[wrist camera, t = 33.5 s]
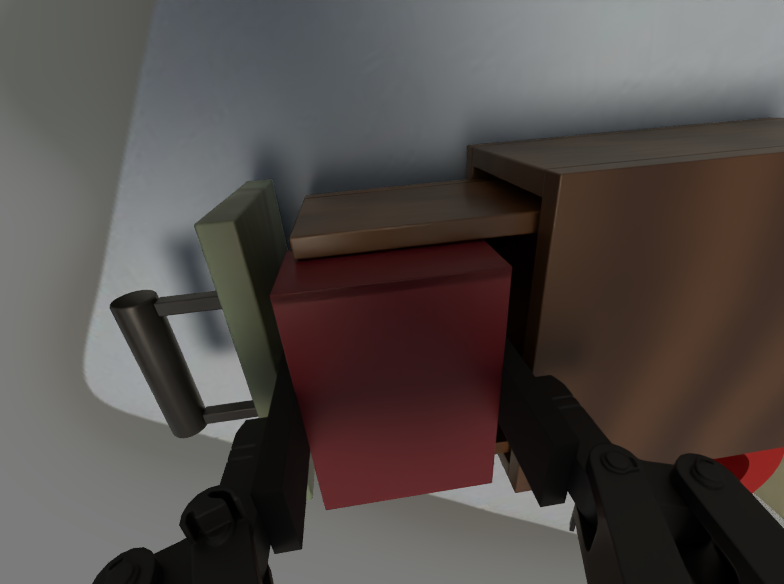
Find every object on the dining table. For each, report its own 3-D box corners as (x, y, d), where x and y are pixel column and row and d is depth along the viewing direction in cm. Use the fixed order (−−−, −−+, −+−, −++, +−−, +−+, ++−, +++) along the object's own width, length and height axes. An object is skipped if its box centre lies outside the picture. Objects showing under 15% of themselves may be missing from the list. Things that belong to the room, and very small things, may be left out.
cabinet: (461, 373, 25) (515, 493, 17) (466, 144, 18) (560, 173, 10) (685, 341, 26) (828, 439, 19) (769, 117, 19) (1053, 125, 12)
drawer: (220, 410, 23) (177, 522, 17) (133, 192, 16) (10, 242, 10) (534, 365, 24) (600, 452, 18) (566, 151, 18) (681, 174, 12)
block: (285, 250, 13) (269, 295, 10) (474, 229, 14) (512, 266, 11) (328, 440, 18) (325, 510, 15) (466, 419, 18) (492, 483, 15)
